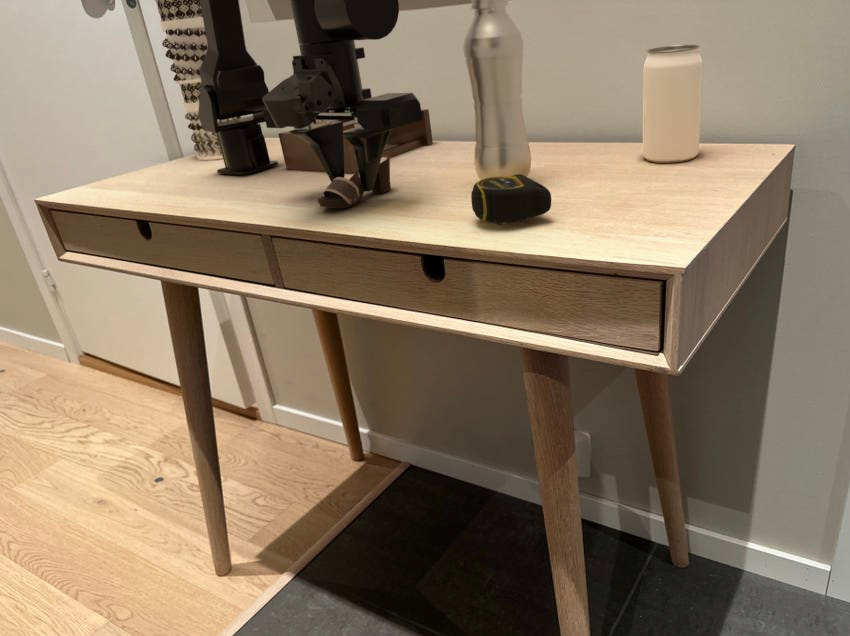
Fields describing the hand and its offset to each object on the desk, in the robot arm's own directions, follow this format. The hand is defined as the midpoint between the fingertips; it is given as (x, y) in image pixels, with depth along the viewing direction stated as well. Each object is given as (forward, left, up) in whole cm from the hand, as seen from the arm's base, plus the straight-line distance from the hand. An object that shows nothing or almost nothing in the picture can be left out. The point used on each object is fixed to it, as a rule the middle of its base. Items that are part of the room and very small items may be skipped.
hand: (353, 189), depth 81 cm
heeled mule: (0, 0, -1) cm, 1 cm away
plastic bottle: (+14, +10, -1) cm, 17 cm away
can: (+28, +25, -1) cm, 38 cm away
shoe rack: (-17, +19, -1) cm, 26 cm away
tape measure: (+22, -1, -1) cm, 22 cm away
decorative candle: (-46, +17, -1) cm, 49 cm away
